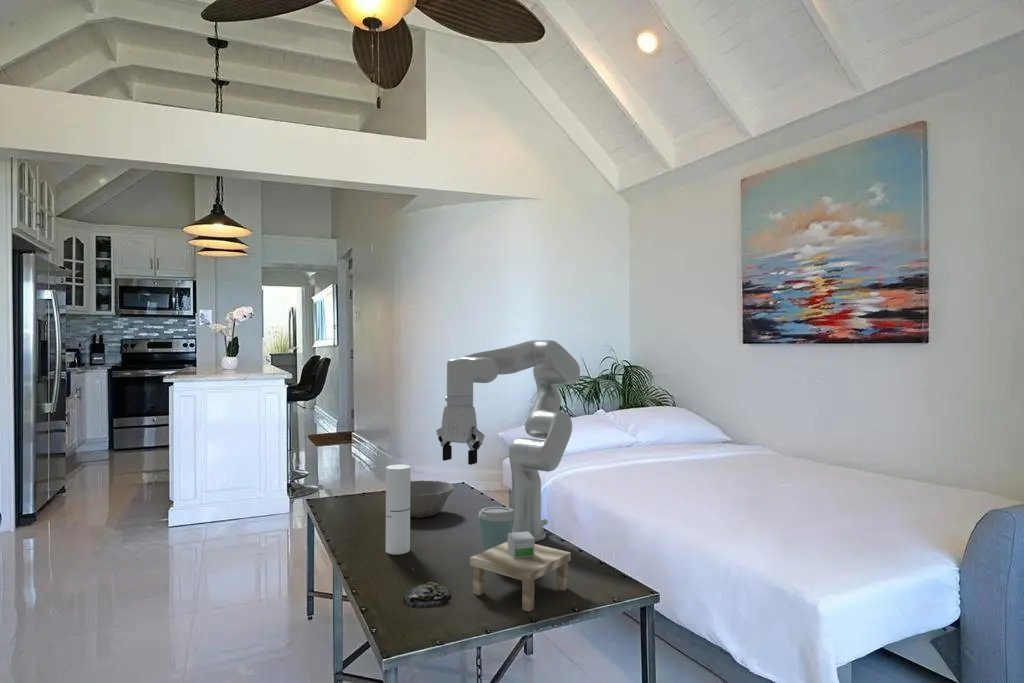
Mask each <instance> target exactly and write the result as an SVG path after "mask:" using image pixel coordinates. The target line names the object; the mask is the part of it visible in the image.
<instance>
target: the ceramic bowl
mask: <svg viewBox="0 0 1024 683" xmlns="http://www.w3.org/2000/svg"><path fill="white" fill-rule="evenodd" d="M454 490H455V487H454V485H453V484H452V483H450V482H446V481H441V480H413V481H412V480H411V481H410V518H411V517H412V518H416V519H417V518H418V519H419V518H421V519H422V518H426V517H431V516H435V515H436V514H438V513H439V512H441V511H442V510H443V509H444V506H445V504H446V502H447V500H448V498H449V496H451V493H452V492H453V491H454Z"/></svg>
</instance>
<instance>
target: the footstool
mask: <svg viewBox="0 0 1024 683" xmlns="http://www.w3.org/2000/svg"><path fill="white" fill-rule="evenodd" d="M571 556H572V554H571V552H570V551H565V550H561V549H557V548H553V547H549V546H544V545H541V544H536V543H535V557H526V558H516V559H513V558H512V556H511V555H510V554H509V552H508V541H507V542H505V543H503V544H500V545H498V546H496V547H493V548H491V549H489V550H486V551H484V552H483V551H482V552H479V553H477V554H474V555H473V556H470V558H469V564H470V566H472V594H473V595H476V596H482V595H483V594H485V571H489V572H492V573H495V574H499V575H501V576H505V577H509V578H513V579H515V580H519V581H521V584H522V585H521V586H522V587H521V588H522V590H521V593H522V594H521V597H522V599H521V602H522V603H521V604H522V606H521V607H522V608H521V610H522V611H525V612H532V611H533V610H534V609H535V580H537V579H539V578H541V577H543V576H544V575H547V574H548V573H551V572H552V571H553V570H556V589H557V590H558V591H563V592H564V591H566V590H567V589H569V582H568V581H569V562H570V561H572V560H571V559H572V558H571Z"/></svg>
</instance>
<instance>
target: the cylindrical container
mask: <svg viewBox="0 0 1024 683" xmlns="http://www.w3.org/2000/svg"><path fill="white" fill-rule="evenodd" d="M385 470H386V471H385V553H387V554H389V555H403V554H406V553H409V552H410V551H411V516H410V482H411V465H408V464H391V465H387V466H385Z"/></svg>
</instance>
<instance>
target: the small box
mask: <svg viewBox="0 0 1024 683" xmlns="http://www.w3.org/2000/svg"><path fill="white" fill-rule="evenodd" d="M535 544H536V543H535V538H534V537H533V536H532V535H531V534H530V533H529V532H517V533H508V552H509V554H510V555H511V556H512V558H513V559H516V558H526V557H535Z"/></svg>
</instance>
